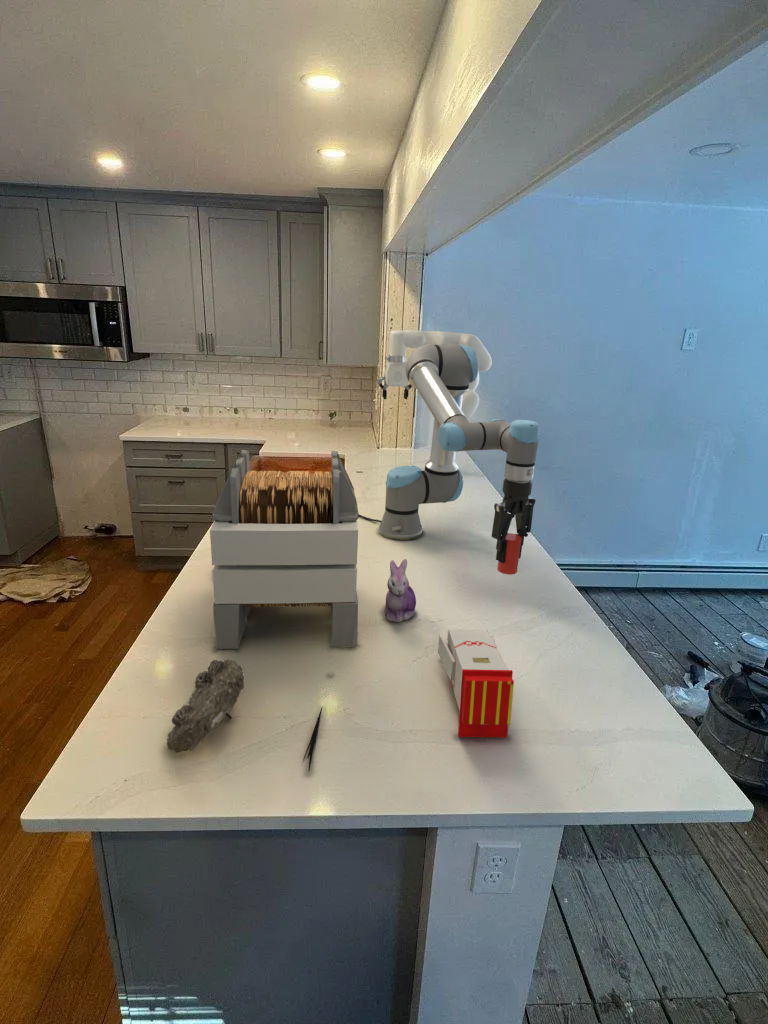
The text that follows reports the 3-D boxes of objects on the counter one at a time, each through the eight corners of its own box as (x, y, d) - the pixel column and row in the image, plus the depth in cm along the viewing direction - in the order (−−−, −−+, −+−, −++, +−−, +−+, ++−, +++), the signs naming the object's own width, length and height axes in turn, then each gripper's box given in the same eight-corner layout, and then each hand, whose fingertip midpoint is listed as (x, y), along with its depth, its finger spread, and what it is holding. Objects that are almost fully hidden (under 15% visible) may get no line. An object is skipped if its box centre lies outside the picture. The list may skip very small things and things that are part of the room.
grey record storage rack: (234, 582, 160) (226, 440, 146) (350, 581, 163) (353, 443, 150) (213, 651, 128) (201, 478, 114) (357, 647, 132) (363, 480, 118)
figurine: (392, 627, 141) (395, 572, 136) (374, 608, 149) (376, 556, 144) (425, 619, 145) (429, 566, 140) (405, 601, 154) (408, 550, 149)
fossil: (192, 660, 117) (244, 628, 112) (224, 691, 120) (276, 661, 115) (142, 746, 98) (202, 712, 93) (182, 779, 101) (242, 748, 96)
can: (495, 572, 158) (499, 538, 155) (499, 564, 163) (503, 531, 159) (515, 576, 156) (520, 542, 153) (518, 568, 161) (522, 535, 158)
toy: (488, 613, 130) (523, 677, 101) (484, 667, 133) (517, 744, 104) (435, 612, 130) (455, 676, 101) (432, 666, 133) (451, 743, 103)
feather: (331, 679, 122) (336, 673, 122) (307, 777, 96) (313, 769, 95) (324, 675, 122) (329, 669, 121) (298, 772, 95) (304, 764, 95)
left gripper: (503, 487, 143) (493, 571, 151) (552, 478, 153) (541, 557, 161) (482, 480, 149) (474, 560, 156) (531, 471, 159) (521, 548, 166)
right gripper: (380, 360, 244) (378, 400, 250) (418, 361, 248) (415, 400, 254) (376, 358, 251) (374, 397, 257) (413, 359, 255) (411, 397, 261)
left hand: (508, 558), depth 159 cm, fingers closed on can, 5 cm apart
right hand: (395, 398), depth 255 cm, fingers open, 9 cm apart
